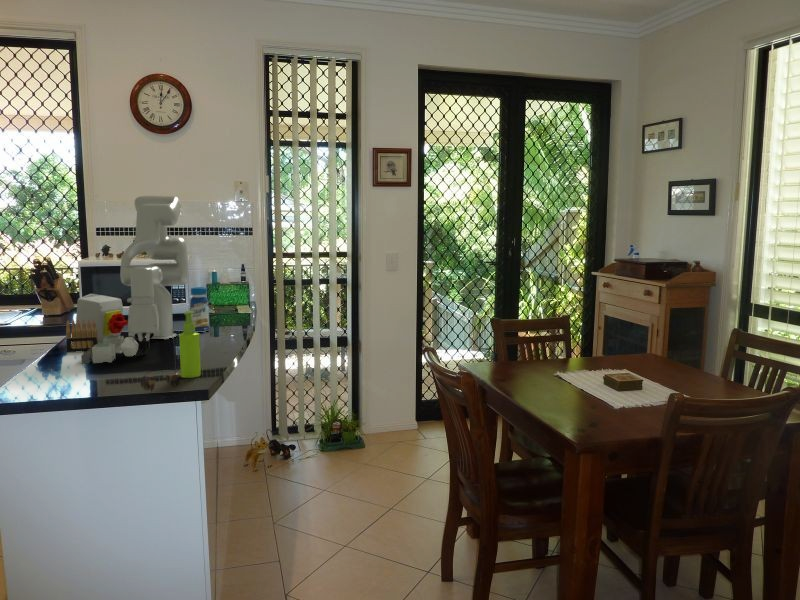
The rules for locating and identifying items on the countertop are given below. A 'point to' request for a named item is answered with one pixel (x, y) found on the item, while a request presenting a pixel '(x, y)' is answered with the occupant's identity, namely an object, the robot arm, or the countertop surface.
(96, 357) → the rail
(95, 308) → the electrical switch box
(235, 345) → the countertop surface
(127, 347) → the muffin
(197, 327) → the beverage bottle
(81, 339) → the ammunition clip
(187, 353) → the soap dispenser
